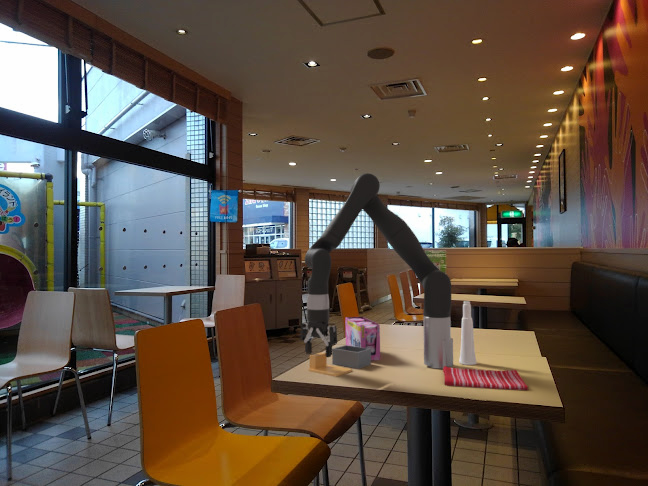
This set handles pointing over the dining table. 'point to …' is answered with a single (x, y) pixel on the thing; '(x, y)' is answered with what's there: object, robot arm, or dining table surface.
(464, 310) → the cosmetic bottle
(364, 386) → the dining table surface
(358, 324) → the gum box
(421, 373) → the dining table surface
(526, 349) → the dining table surface
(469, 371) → the dish towel
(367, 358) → the tub
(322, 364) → the lid
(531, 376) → the dining table surface
